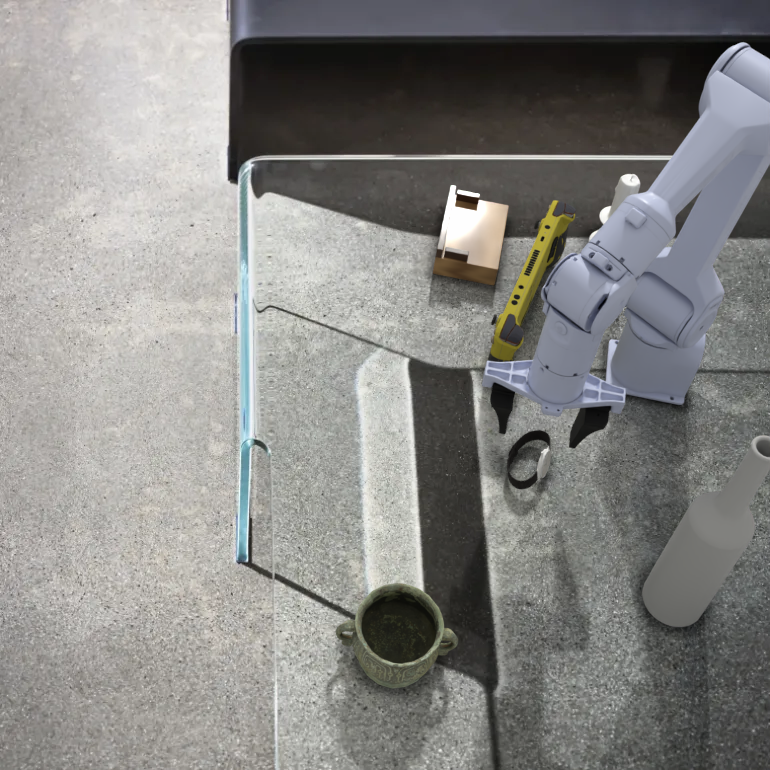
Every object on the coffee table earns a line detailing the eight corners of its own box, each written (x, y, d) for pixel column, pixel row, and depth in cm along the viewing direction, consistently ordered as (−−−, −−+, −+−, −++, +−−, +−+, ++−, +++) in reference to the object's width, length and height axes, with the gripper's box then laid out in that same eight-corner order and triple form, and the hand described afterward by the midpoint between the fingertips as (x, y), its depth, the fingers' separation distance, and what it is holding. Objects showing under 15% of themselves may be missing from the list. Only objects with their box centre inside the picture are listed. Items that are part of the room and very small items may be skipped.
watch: (534, 500, 128) (540, 482, 125) (495, 482, 129) (500, 464, 126) (557, 449, 132) (564, 431, 129) (519, 433, 133) (525, 414, 130)
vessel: (453, 617, 118) (462, 588, 113) (452, 699, 113) (461, 672, 108) (336, 606, 118) (340, 576, 113) (329, 688, 112) (333, 661, 107)
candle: (600, 224, 156) (623, 156, 146) (635, 242, 154) (660, 175, 145) (581, 246, 153) (603, 177, 143) (616, 265, 151) (641, 197, 142)
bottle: (713, 590, 123) (814, 439, 101) (690, 638, 119) (790, 492, 97) (656, 560, 124) (744, 404, 102) (632, 606, 121) (718, 455, 99)
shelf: (505, 221, 154) (511, 196, 151) (494, 285, 147) (500, 261, 143) (446, 210, 155) (450, 185, 151) (432, 273, 147) (436, 248, 144)
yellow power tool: (532, 247, 152) (548, 190, 144) (563, 257, 151) (580, 201, 143) (471, 386, 137) (484, 331, 129) (505, 398, 136) (520, 344, 128)
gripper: (488, 370, 113) (466, 449, 123) (635, 400, 112) (601, 477, 123) (496, 317, 117) (475, 398, 128) (638, 345, 116) (605, 424, 127)
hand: (537, 433), depth 125 cm, fingers open, 7 cm apart
